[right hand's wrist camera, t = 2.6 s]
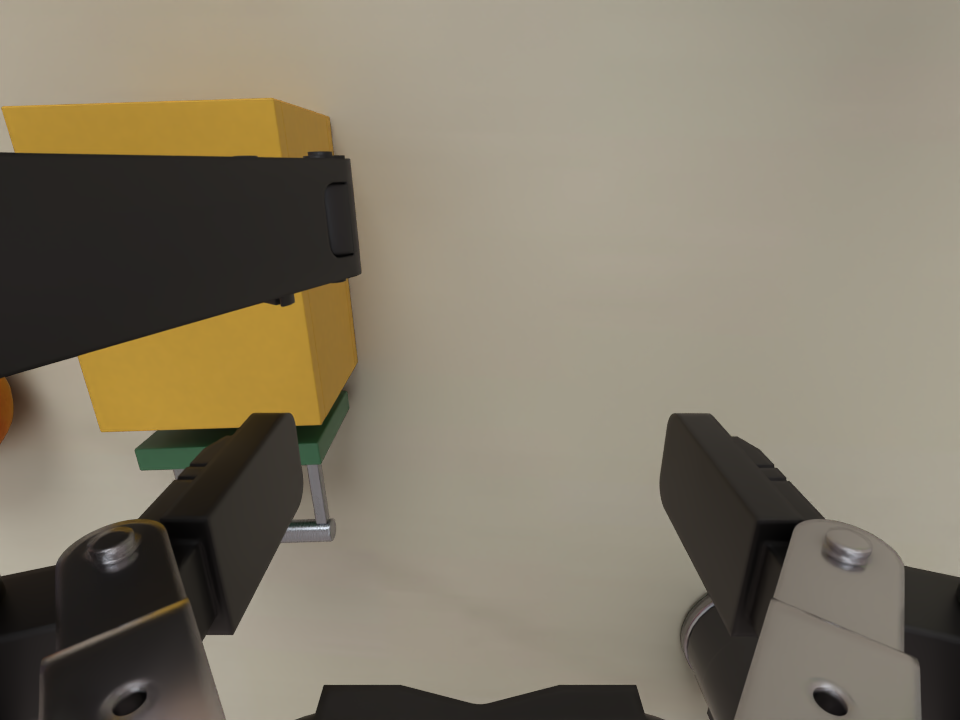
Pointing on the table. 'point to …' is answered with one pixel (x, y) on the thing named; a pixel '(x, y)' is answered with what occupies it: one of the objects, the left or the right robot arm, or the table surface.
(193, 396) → the cabinet
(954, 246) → the table surface
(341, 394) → the drawer
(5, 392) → the fruit
